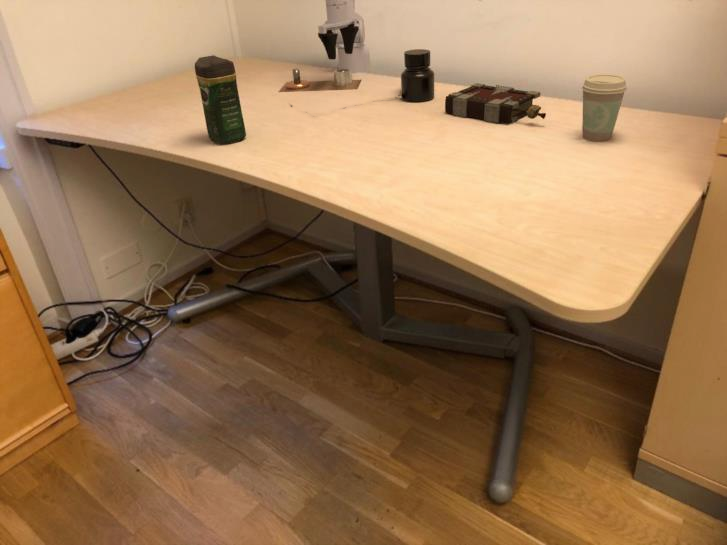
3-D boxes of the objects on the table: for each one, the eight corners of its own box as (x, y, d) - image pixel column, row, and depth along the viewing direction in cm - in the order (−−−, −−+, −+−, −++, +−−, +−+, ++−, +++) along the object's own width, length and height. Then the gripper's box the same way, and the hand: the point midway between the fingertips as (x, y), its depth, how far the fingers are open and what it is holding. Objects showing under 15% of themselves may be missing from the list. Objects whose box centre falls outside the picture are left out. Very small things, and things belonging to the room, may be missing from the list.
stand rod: (344, 83, 171) (343, 69, 169) (347, 84, 169) (346, 70, 167) (339, 84, 170) (338, 70, 168) (342, 85, 169) (341, 71, 167)
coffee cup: (566, 135, 126) (573, 78, 120) (598, 127, 129) (606, 71, 122) (595, 146, 119) (603, 86, 113) (627, 138, 122) (638, 79, 116)
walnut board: (362, 84, 175) (361, 79, 174) (357, 94, 165) (357, 89, 165) (287, 87, 178) (286, 82, 177) (278, 97, 168) (277, 92, 167)
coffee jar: (251, 139, 137) (238, 56, 128) (220, 147, 134) (203, 63, 124) (234, 130, 144) (220, 51, 135) (204, 137, 141) (187, 57, 131)
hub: (303, 82, 175) (301, 65, 173) (313, 86, 170) (311, 69, 168) (282, 86, 173) (280, 69, 170) (291, 90, 168) (289, 73, 165)
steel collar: (347, 81, 173) (346, 67, 171) (355, 84, 169) (354, 70, 167) (332, 84, 171) (330, 70, 169) (340, 87, 167) (338, 73, 165)
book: (476, 101, 154) (477, 81, 151) (566, 115, 139) (568, 94, 136) (443, 115, 145) (443, 94, 142) (535, 132, 130) (537, 109, 127)
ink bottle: (437, 93, 161) (437, 47, 155) (434, 102, 154) (434, 54, 147) (402, 94, 163) (400, 48, 157) (398, 103, 155) (396, 56, 149)
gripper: (341, 0, 166) (345, 50, 173) (307, 7, 156) (313, 60, 163) (361, 0, 162) (364, 51, 169) (328, 8, 152) (332, 62, 159)
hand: (340, 56), depth 166 cm, fingers open, 7 cm apart
